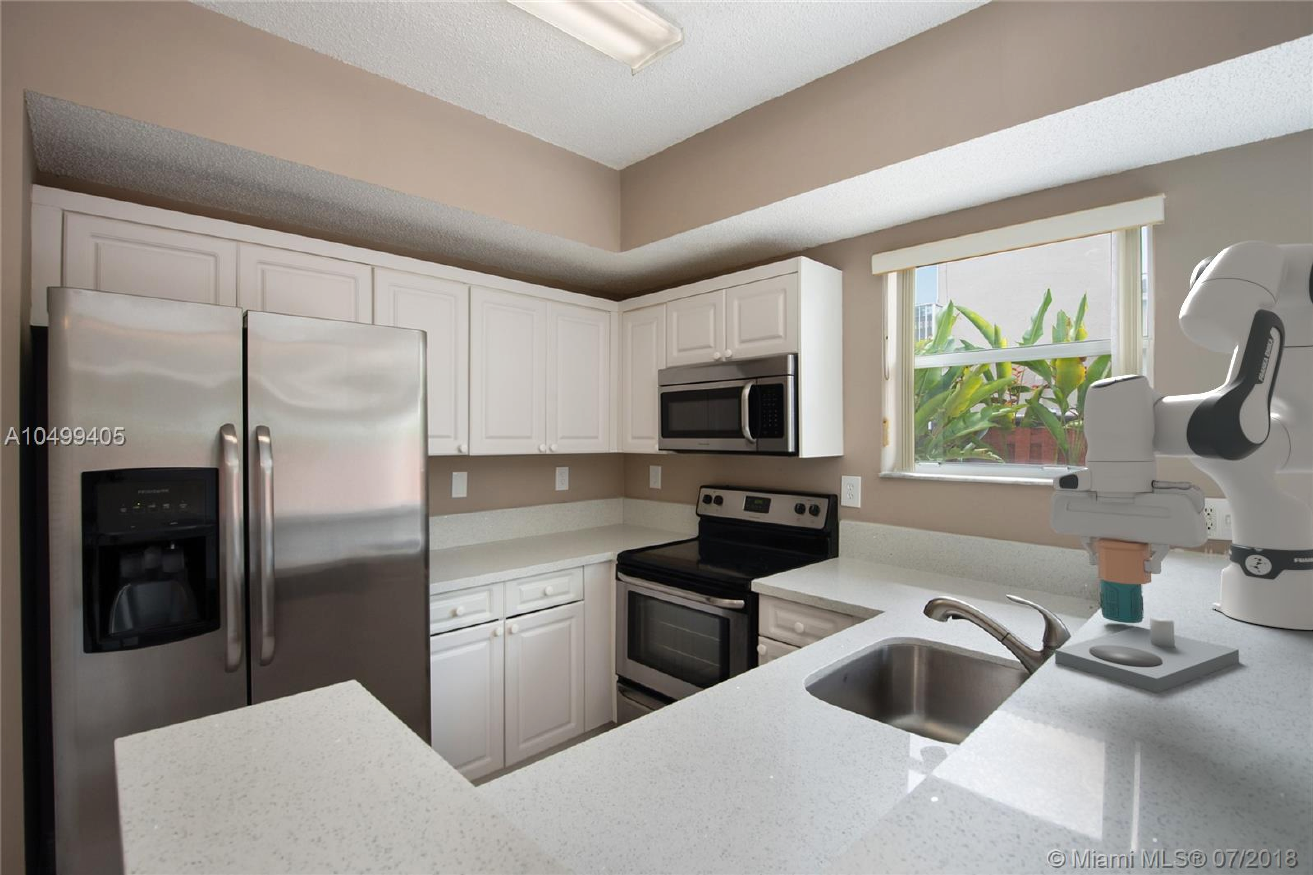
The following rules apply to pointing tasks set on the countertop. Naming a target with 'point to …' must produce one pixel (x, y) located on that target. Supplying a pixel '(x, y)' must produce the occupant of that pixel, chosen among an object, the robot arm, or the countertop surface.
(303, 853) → the countertop surface
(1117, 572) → the knob
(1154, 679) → the mount
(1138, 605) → the beverage bottle
